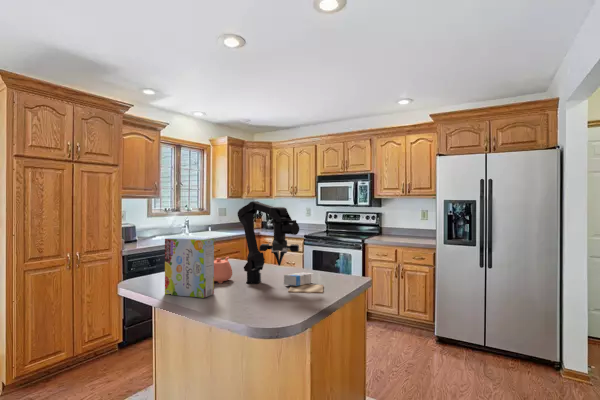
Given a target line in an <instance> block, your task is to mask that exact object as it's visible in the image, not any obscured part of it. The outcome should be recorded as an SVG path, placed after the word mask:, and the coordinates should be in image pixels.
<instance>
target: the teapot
mask: <svg viewBox="0 0 600 400" xmlns="http://www.w3.org/2000/svg"><path fill="white" fill-rule="evenodd" d="M229 258H230V256H226V257H225V259H222V257H217V258H215V259H214V282H218V283H217V284H223V283H224V282H228V281H229V280H230V279H231V278H232V277H233V269H232V265H231V263H230V261H229Z"/></svg>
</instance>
